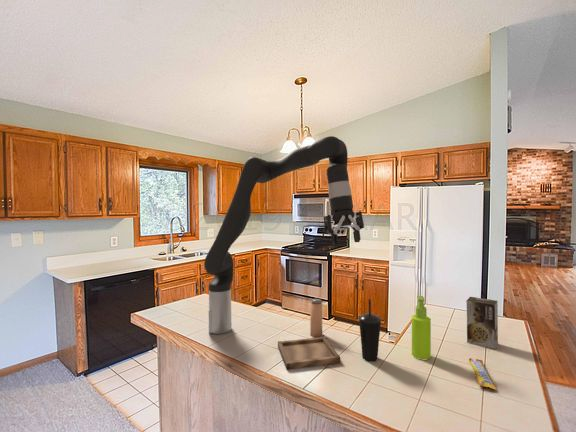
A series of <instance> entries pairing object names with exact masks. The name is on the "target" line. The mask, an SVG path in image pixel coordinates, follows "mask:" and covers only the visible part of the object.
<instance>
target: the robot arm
mask: <svg viewBox="0 0 576 432" xmlns="http://www.w3.org/2000/svg"><path fill="white" fill-rule="evenodd" d="M326 159H328V162H329V165H328V167H327V169H326V178H327V179H326V180H327V188H328V190H327V191H328V198H329V199H328V200H329V206H330V211H331V214H325V215H323V225H324V233H325V234H328V235H330V239H331V243H332V245H333V246H334V247H338V246H340V244H339V243H340V242H339V236H338V234H337V233H338V231H339V229H340V228H341V227H345V226H347V227H349V228H351V230H352V231H353V232H352V234H353V242H355V243H360V242H361V233H360V231H361V230H362V229H364V228H365V226H364V225H365V224H364V220H363V219H364V218H363V214H362V213H363V212H362V211H361V210H358V211H357V210H356V211H354V204H353V203H354V202H353V196H352V188H351V184H350V179H349V172H348V171H349V170H348V147H347V145H346V143H345V142H344V141H343V140H341V138H340V139H339V137H336V136H334V135H330V136H325V137H323V138H320V139H318V140H317V141H315V142H313V143H311V144H309V145H307V146H303V147H299V148H297V149H294V150H292V151H290V152H289V153H287V154H286V155H285V156H283V157H282V158H278V159H275V160H264V159H262V158H260V157H256V156H251V157H249V158H248V159H247V160H246V161H245V162H244V164H243V167H242V169H241V172H240V175H239V179H238V183H237V186H236V189H235V192H234V193H233V197H232V199H231V202H230V205H229V207H228V209H227V211H226V213H225V215H224V217H223V221H222V223H221V226H220V228H219V231H218V233H217V235H216V237H215V239H214V241H213V244H212V245H211V247H210V249H209V251H208V252H207V254H206V256H205V258H204V265H203V266H204V270H205V272H206V273H207V274H208V275H210V276H214V277H213V278H212V279H211V281H210V282H209V283H208V334H214V335H222V334H227V333H228V332H230V331H231V330H233V329H232V324H233V323H232V284H233V281H234V280H233V279H234V258H233V256H232V254H231V253H230V252H229V250H230V248H231V246H232V245H233V244H234V243H235V242H236V240H238V238H239V237H240V236H241V234H243V232H244V231H245V228H246V226H247V225H248V222H249V220H250V219H251V218H250V217H251V213H252V204H251V203H252V201H251V200H252V199H251V197H252V194H253V191H254V188H255V186H256V185H257V183H258V184H266V183H268V182H270V181H272V180H274V179H276V178H279V177H281V176H282V175H285V174H287V173H290V172H293V171H297V170H300V169H304V168H307V167H311V166H314V165H316V164H319V163H320V161H322V160H326ZM332 221H333V223H332Z"/></svg>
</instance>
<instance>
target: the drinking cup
mask: <svg viewBox="0 0 576 432" xmlns="http://www.w3.org/2000/svg"><path fill="white" fill-rule="evenodd" d="M371 304H372V299H371V298H368V313H363V314H360V315H358V317H357V319H358V321H359V334H360V344H361V346H360V347H361V354H362V355H361V356H362V359H363V360H364V359H365V360H364V361H366V362H369V361H374V362H377V360H378V356H379V355H378V354H379V347H380V345H379V344H380V343H379V342H380V333H381V325H382V317H380V316H379V315H377V314H374V313H371V312H372V311H371V309H372V308H371V307H372V305H371Z"/></svg>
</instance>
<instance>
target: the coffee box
mask: <svg viewBox="0 0 576 432" xmlns="http://www.w3.org/2000/svg"><path fill="white" fill-rule="evenodd" d="M465 301H466V343H469V344H473V345H475V346H481V347H484V348H489V349H493V350H496V349H497V347H498V346H499V345H498V344H499V332H498V331H499V325H498V324H499V320H498V319H499V318H498V300H493V299H488V298H481V297H475V296H469V298H468V297H467V299H466V300H465Z"/></svg>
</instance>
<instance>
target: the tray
mask: <svg viewBox="0 0 576 432" xmlns="http://www.w3.org/2000/svg"><path fill="white" fill-rule="evenodd" d="M277 349H278V351H279V353H280V356H281V359H282V361H283V364H284V367H285V370H286V371H291V370H297V369H299V370H300V369H306V368H315V367H321V366H330V365H339V364H341V356H340V355H339V353H338V352H337V351H336V350H335V349H334V347H333V346H332V345H331V344H330V342H329V341H328V339H327V338H326V337H325V336H321V337H311V338H301V339H291V340H290V339H289V340H282V341H279V340H278V341H277Z"/></svg>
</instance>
